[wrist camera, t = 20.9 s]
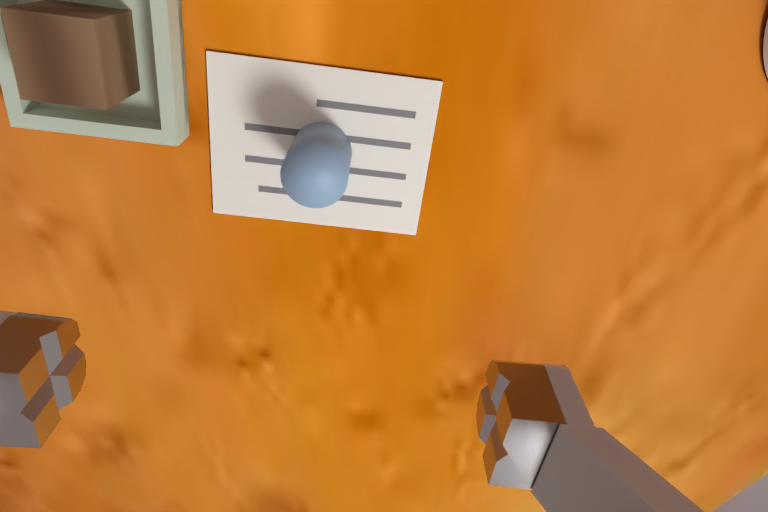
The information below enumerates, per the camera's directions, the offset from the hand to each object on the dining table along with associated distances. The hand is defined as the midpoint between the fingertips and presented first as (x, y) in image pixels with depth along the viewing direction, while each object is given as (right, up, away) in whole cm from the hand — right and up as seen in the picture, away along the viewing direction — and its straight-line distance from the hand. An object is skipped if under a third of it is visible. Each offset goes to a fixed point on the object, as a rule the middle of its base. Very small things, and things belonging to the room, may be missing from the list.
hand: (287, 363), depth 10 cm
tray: (-17, +16, +24) cm, 34 cm away
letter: (-3, +10, +28) cm, 30 cm away
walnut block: (-17, +16, +24) cm, 33 cm away
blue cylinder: (-3, +10, +28) cm, 30 cm away
